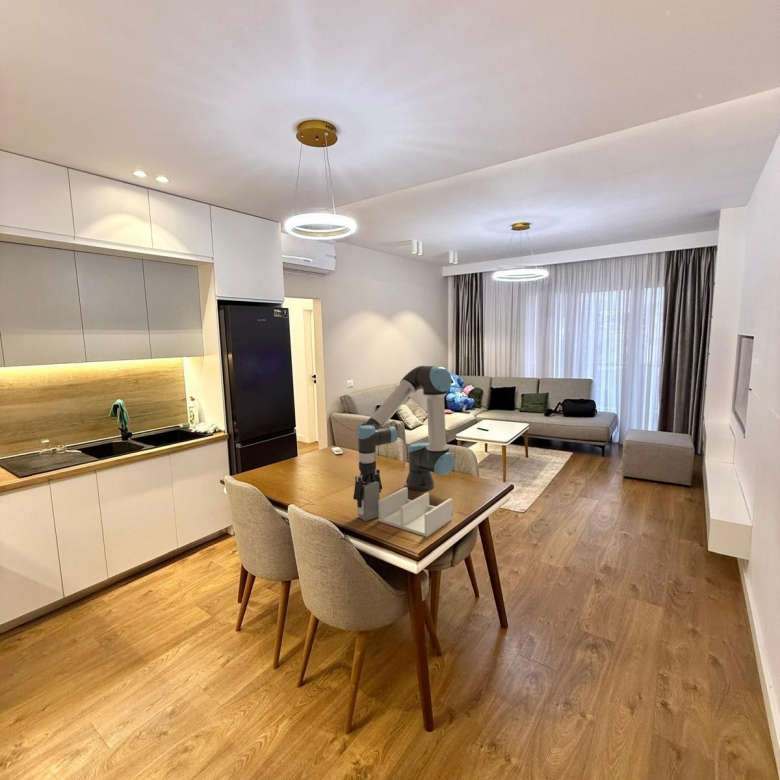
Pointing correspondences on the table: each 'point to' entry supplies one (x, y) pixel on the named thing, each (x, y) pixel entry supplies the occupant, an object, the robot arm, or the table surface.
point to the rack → (414, 512)
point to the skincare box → (370, 501)
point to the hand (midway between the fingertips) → (368, 509)
